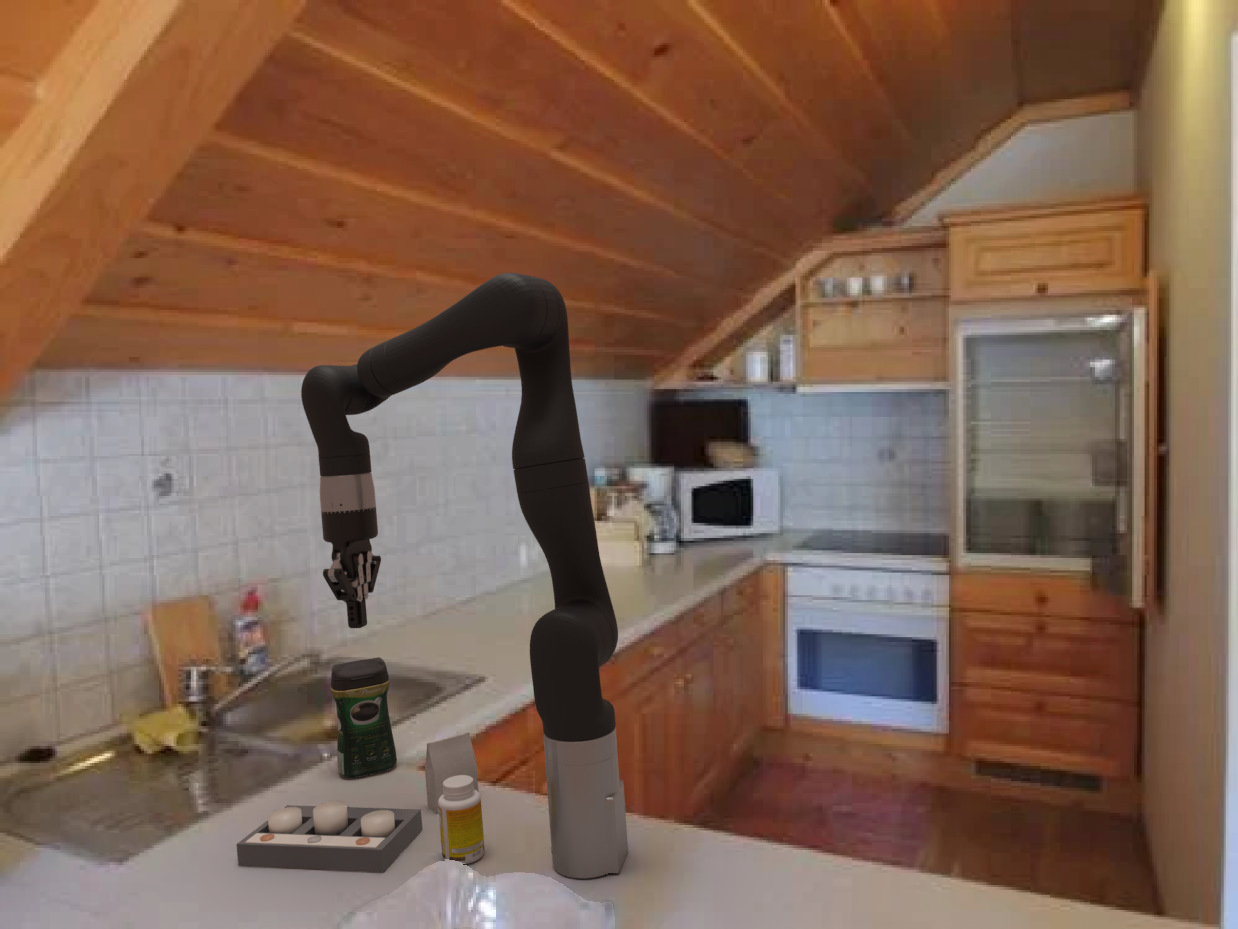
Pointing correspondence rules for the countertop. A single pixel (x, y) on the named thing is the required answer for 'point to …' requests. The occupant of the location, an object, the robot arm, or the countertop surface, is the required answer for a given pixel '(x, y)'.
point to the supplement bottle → (461, 820)
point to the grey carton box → (448, 765)
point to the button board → (330, 844)
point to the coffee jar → (363, 718)
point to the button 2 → (378, 824)
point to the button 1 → (285, 820)
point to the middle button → (330, 818)
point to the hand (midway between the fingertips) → (358, 626)
